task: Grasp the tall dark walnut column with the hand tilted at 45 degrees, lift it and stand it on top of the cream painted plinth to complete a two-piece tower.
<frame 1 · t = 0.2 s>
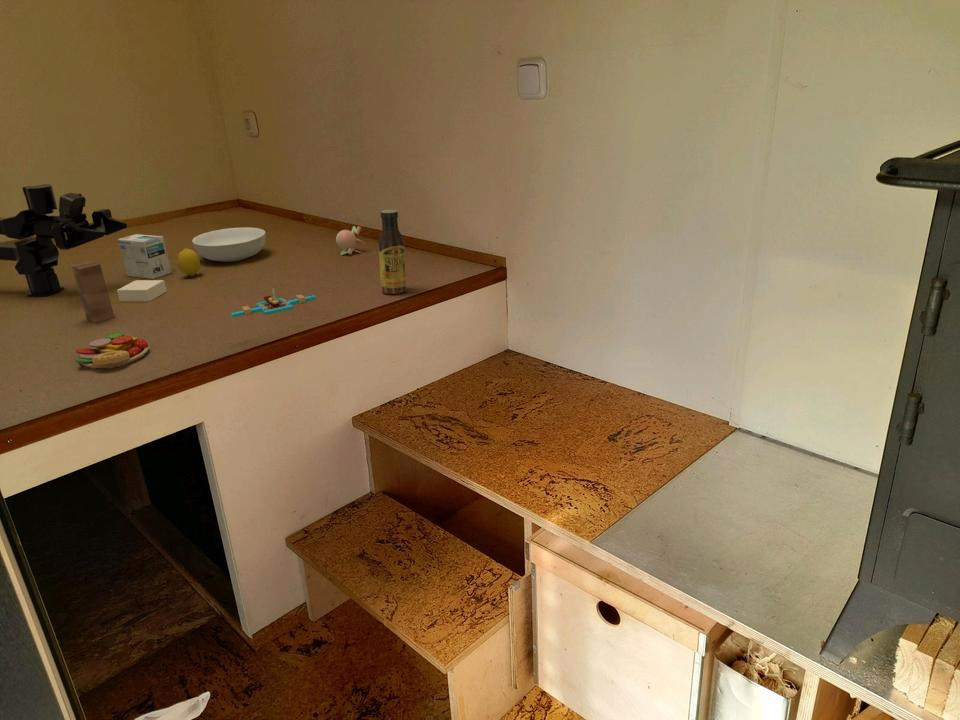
hand: (115, 229, 172), 17 cm above the worktop, tool horizontal, fingers open, 9 cm apart
lemon: (192, 277, 191), on the worktop
toy food set: (114, 359, 140), on the worktop
light bulb box: (149, 275, 195), on the worktop
sauce bottle: (395, 292, 171), on the worktop
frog: (350, 253, 208), on the worktop
gear mechanism: (274, 309, 165), on the worktop
walnut column: (100, 318, 162), on the worktop
cream plinth: (143, 296, 177), on the worktop
serving bowl: (233, 258, 208), on the worktop
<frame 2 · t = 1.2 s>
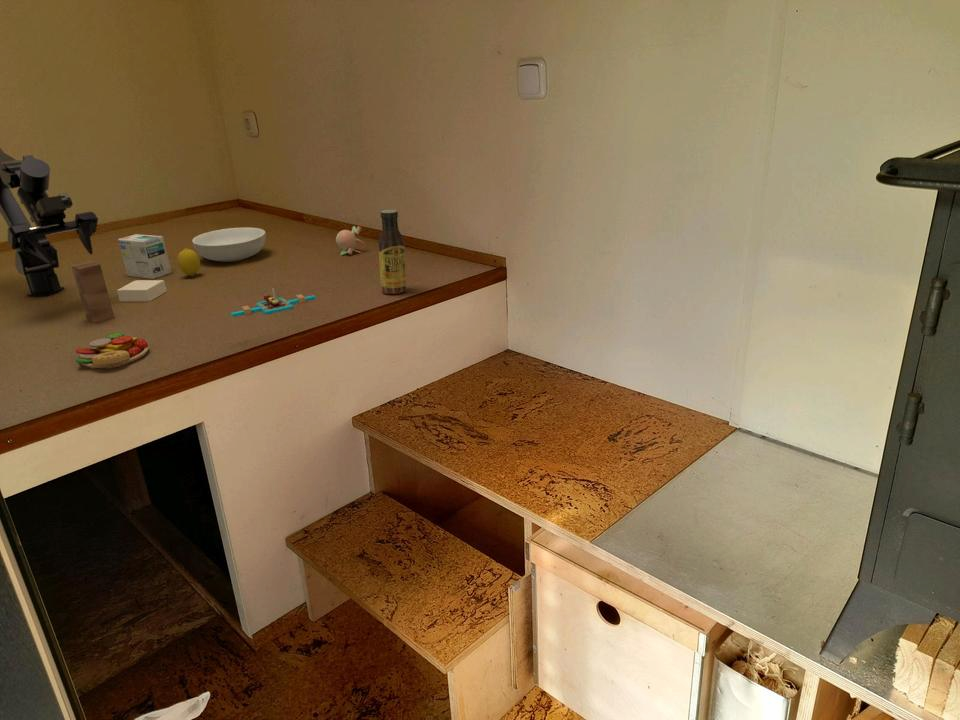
hand: (71, 257, 162), 13 cm above the worktop, tool tilted 45°, fingers open, 9 cm apart
nothing on the worktop moved.
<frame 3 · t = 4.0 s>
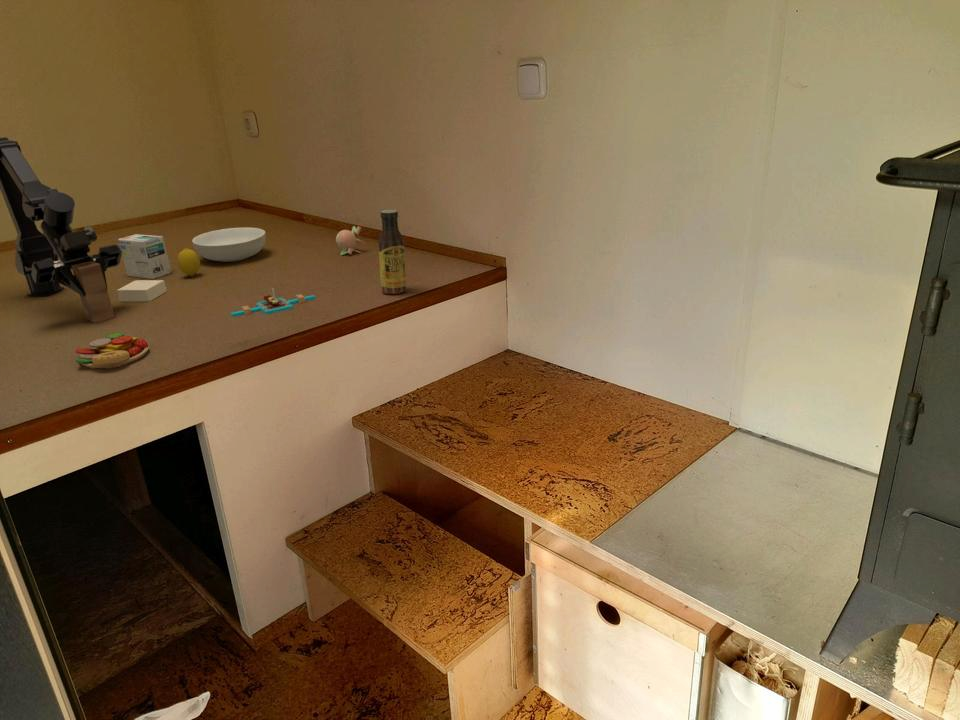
hand: (95, 292, 159), 7 cm above the worktop, tool tilted 45°, fingers closed on walnut column, 4 cm apart
walnut column: (100, 318, 162), on the worktop, touching gripper
everything else where it was.
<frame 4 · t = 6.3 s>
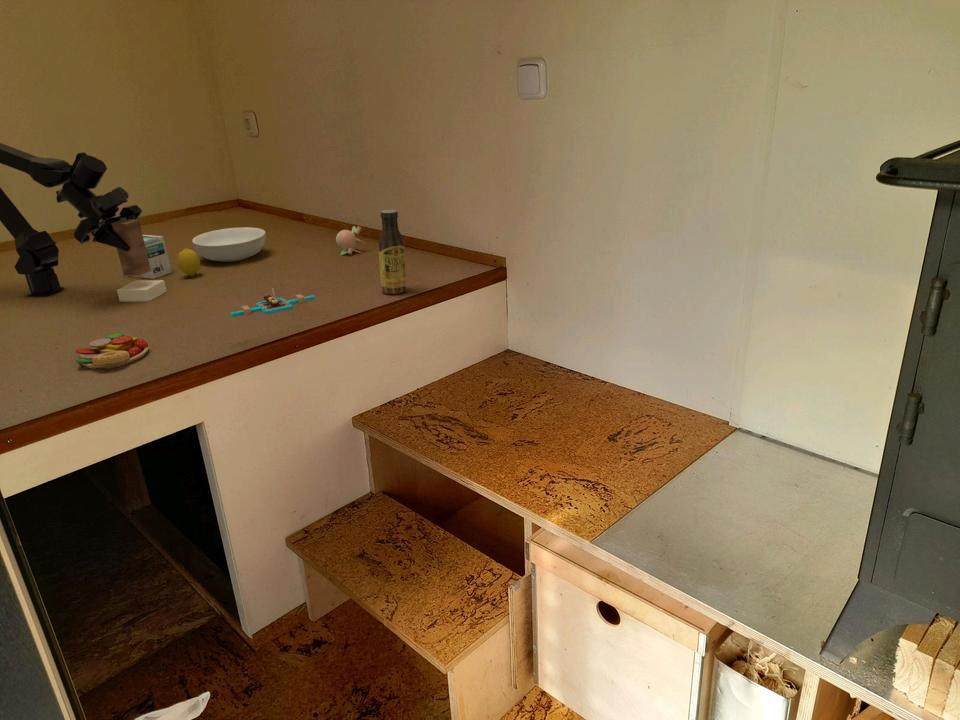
hand: (135, 247, 171), 13 cm above the worktop, tool tilted 45°, fingers closed on walnut column, 4 cm apart
walnut column: (137, 272, 174), point 6 cm above the worktop, touching gripper
everything else where it was.
when the fingers open (10 cm above the worktop, at t = 7.1 s): walnut column stays where it is, resting on cream plinth.
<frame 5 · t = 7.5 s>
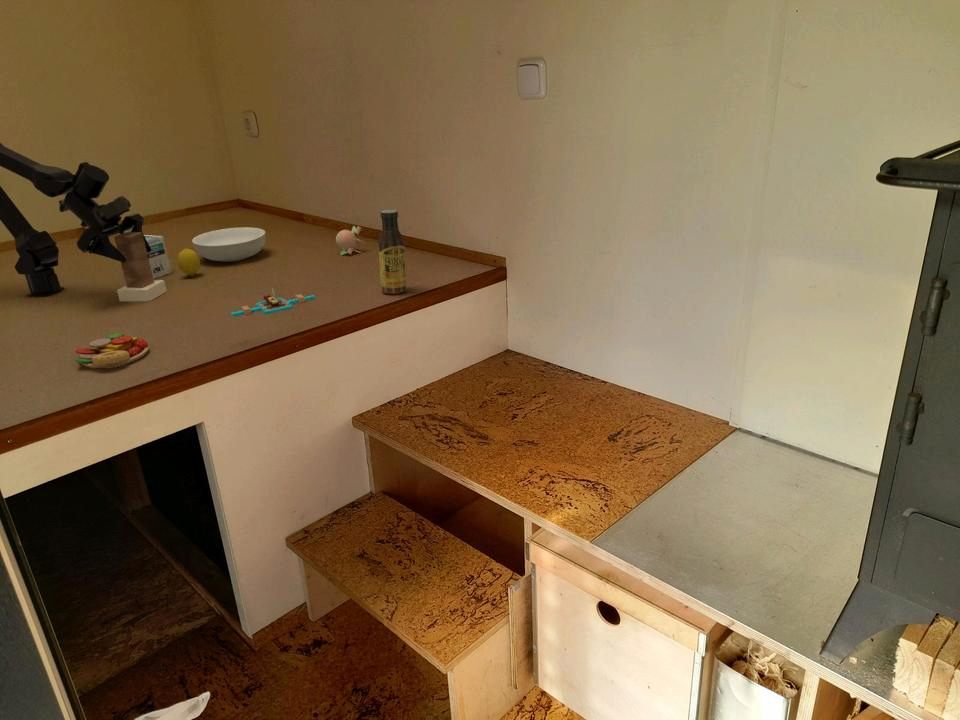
hand: (138, 256, 172), 11 cm above the worktop, tool tilted 45°, fingers open, 9 cm apart
walnut column: (141, 285, 175), point 3 cm above the worktop, touching cream plinth
everything else where it was.
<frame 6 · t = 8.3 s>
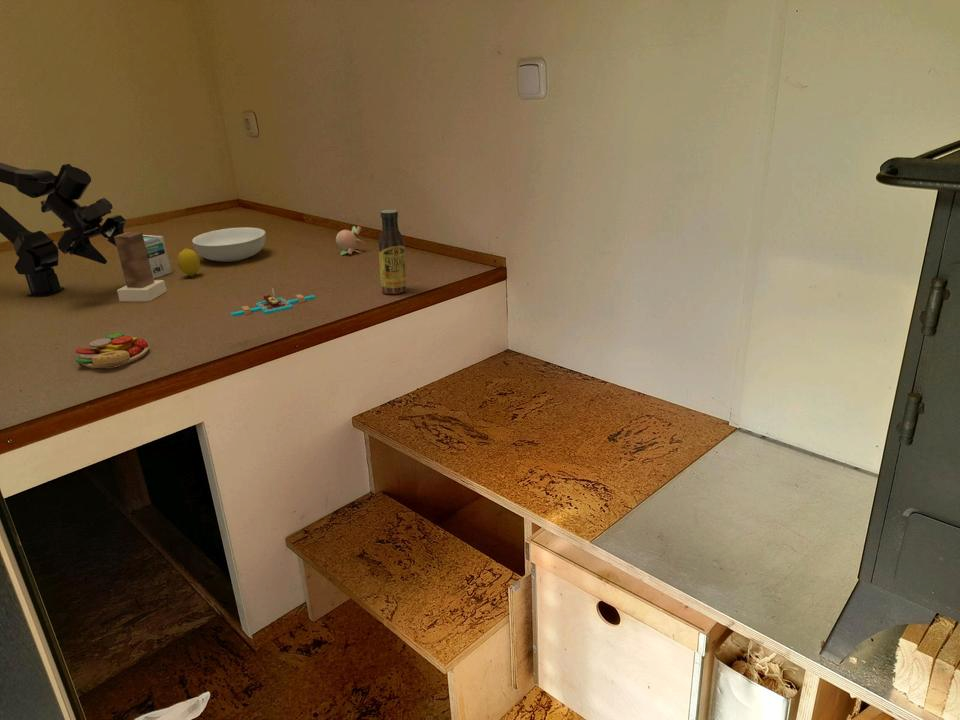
hand: (119, 257, 173), 10 cm above the worktop, tool tilted 45°, fingers open, 9 cm apart
nothing on the worktop moved.
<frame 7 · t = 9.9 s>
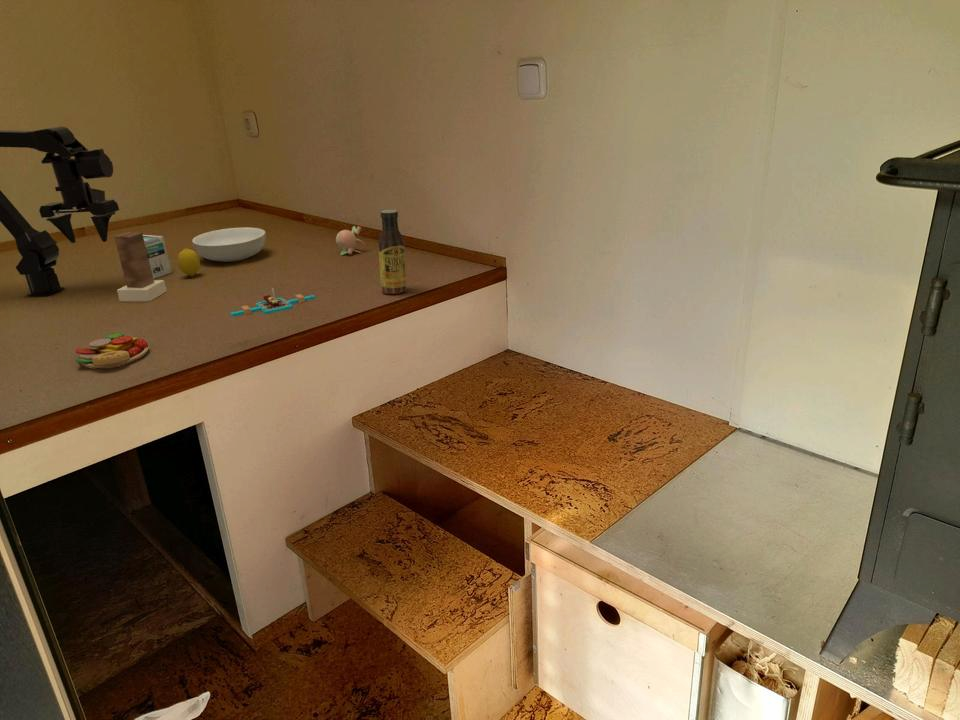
hand: (89, 242, 178), 13 cm above the worktop, tool pointing down, fingers open, 9 cm apart
nothing on the worktop moved.
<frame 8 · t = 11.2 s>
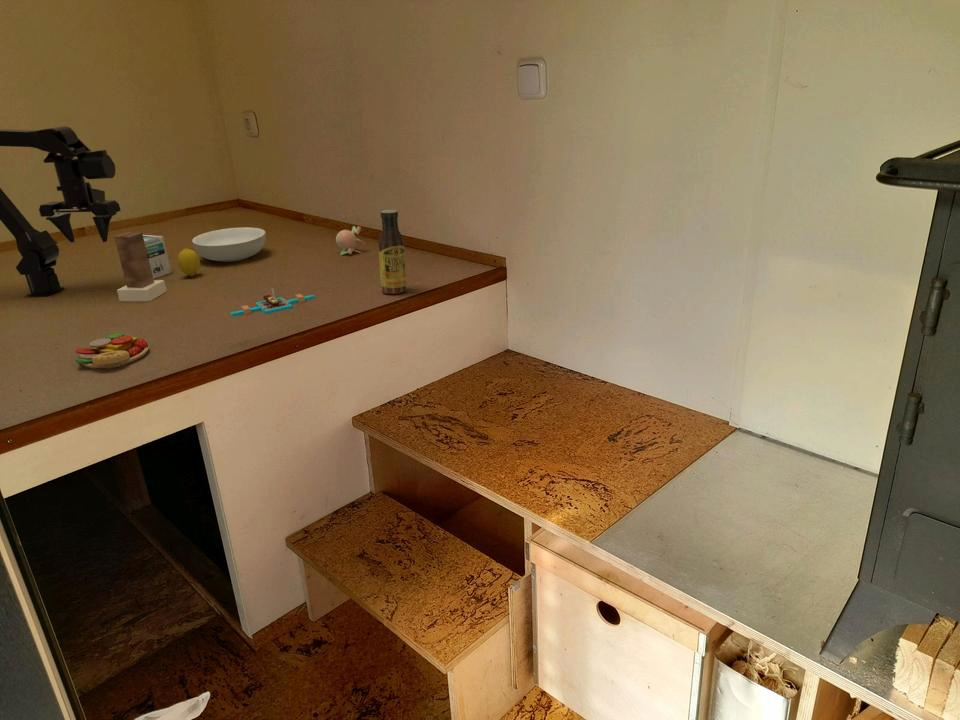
hand: (88, 242, 178), 13 cm above the worktop, tool pointing down, fingers open, 9 cm apart
nothing on the worktop moved.
at the end: walnut column inside the target area on the cream plinth (0.0 cm from its centre), point 3.0 cm above the cream plinth's base; walnut column tilted 0°; the gripper is holding nothing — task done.
